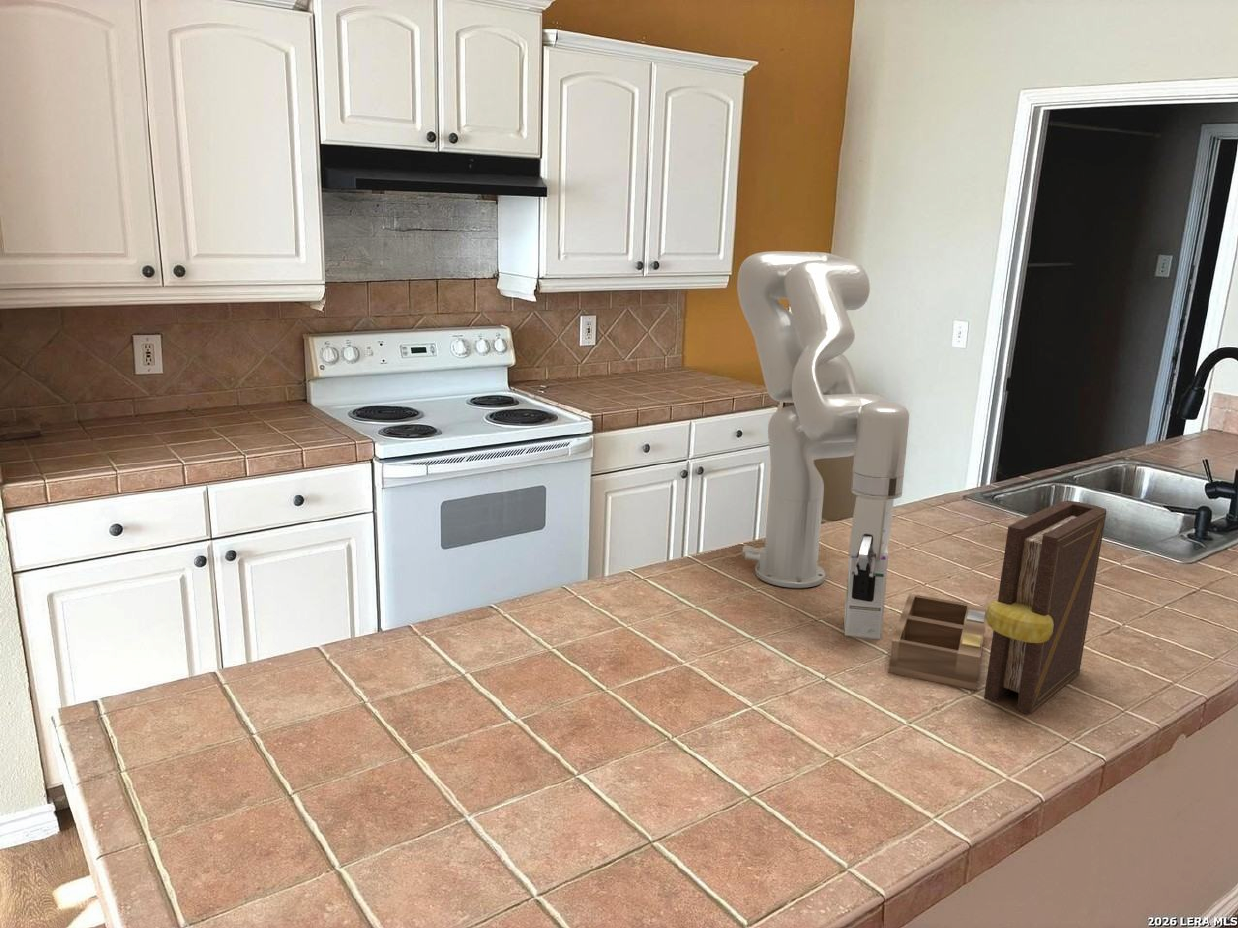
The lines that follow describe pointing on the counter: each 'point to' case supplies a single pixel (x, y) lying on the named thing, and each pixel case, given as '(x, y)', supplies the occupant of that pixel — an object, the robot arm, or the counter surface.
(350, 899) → the counter surface
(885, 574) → the syrup box
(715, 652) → the counter surface
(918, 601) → the socket block
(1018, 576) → the book
